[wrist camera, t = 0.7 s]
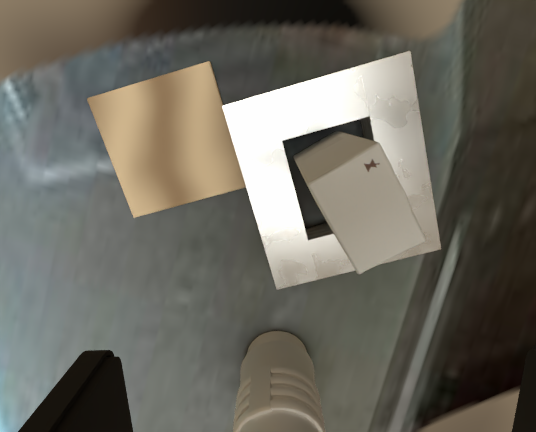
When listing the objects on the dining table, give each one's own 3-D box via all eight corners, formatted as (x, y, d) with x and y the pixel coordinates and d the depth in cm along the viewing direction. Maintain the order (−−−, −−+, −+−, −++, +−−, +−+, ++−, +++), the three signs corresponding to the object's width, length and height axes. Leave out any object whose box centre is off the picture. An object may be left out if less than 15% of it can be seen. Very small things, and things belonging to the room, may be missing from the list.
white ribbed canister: (295, 315, 33) (313, 468, 19) (323, 372, 35) (360, 553, 20) (229, 341, 34) (198, 507, 20) (259, 396, 36) (252, 586, 21)
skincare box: (290, 156, 29) (303, 181, 18) (336, 129, 29) (381, 137, 17) (325, 217, 31) (358, 278, 19) (369, 193, 30) (432, 240, 18)
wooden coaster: (210, 62, 27) (209, 61, 27) (247, 185, 30) (246, 186, 29) (90, 98, 28) (86, 98, 27) (136, 215, 31) (133, 217, 30)
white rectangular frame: (395, 57, 27) (410, 50, 24) (425, 236, 31) (441, 249, 28) (227, 107, 28) (222, 105, 25) (276, 274, 32) (276, 289, 29)
